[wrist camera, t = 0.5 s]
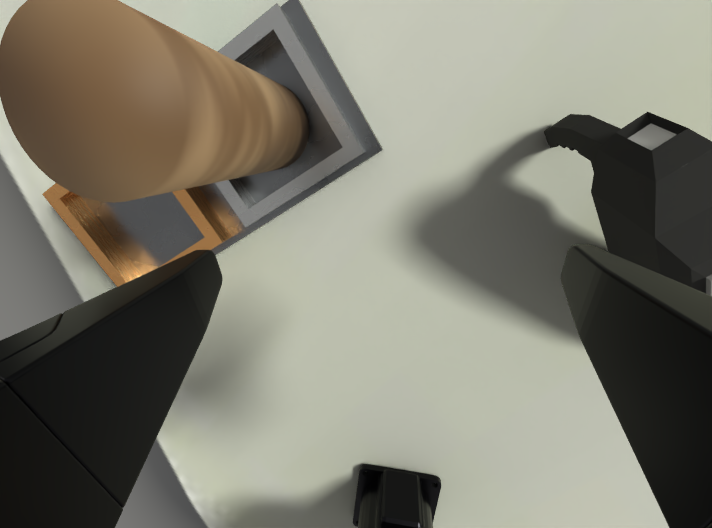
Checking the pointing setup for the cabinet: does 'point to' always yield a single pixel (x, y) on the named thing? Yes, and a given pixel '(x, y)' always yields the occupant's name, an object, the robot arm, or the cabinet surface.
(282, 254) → the cabinet surface
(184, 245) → the tray
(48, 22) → the post
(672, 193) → the gun
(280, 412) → the cabinet surface
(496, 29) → the cabinet surface
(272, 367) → the cabinet surface
